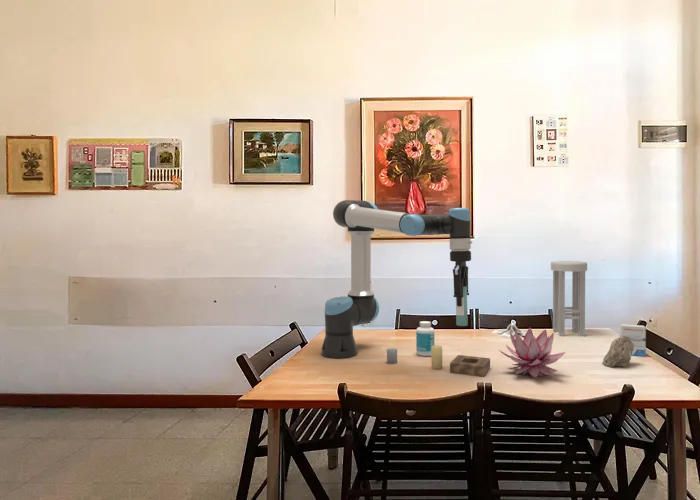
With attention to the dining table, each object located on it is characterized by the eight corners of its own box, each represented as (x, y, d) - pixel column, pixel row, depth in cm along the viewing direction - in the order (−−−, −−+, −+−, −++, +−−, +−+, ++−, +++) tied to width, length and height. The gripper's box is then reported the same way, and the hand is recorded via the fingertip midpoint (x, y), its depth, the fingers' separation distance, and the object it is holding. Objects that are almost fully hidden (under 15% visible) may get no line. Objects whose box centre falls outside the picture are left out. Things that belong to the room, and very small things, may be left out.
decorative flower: (559, 387, 153) (559, 341, 152) (493, 377, 164) (492, 334, 164) (568, 369, 171) (568, 328, 170) (508, 362, 182) (508, 323, 182)
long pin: (455, 325, 172) (454, 287, 171) (458, 323, 175) (457, 286, 175) (466, 326, 170) (465, 287, 170) (468, 324, 174) (467, 286, 173)
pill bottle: (434, 357, 191) (434, 324, 190) (415, 356, 192) (415, 323, 192) (434, 352, 198) (434, 320, 198) (417, 351, 200) (416, 320, 199)
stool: (547, 330, 238) (547, 261, 236) (579, 330, 236) (580, 260, 234) (556, 336, 222) (556, 263, 221) (591, 337, 220) (591, 263, 219)
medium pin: (430, 368, 175) (430, 347, 175) (433, 365, 179) (433, 344, 179) (440, 369, 174) (440, 348, 173) (443, 366, 177) (443, 345, 177)
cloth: (543, 338, 222) (543, 325, 222) (508, 341, 218) (508, 328, 218) (516, 329, 244) (516, 317, 243) (483, 331, 240) (483, 319, 239)
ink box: (643, 353, 191) (644, 325, 191) (645, 356, 187) (646, 327, 186) (619, 351, 195) (620, 323, 194) (621, 354, 190) (621, 325, 190)
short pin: (385, 363, 183) (385, 350, 183) (389, 360, 187) (389, 348, 187) (395, 364, 182) (394, 351, 181) (398, 361, 185) (398, 349, 185)
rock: (627, 354, 167) (604, 343, 173) (619, 377, 172) (597, 366, 177) (642, 340, 175) (620, 330, 181) (634, 362, 180) (612, 352, 185)
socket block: (450, 372, 170) (449, 362, 170) (458, 363, 181) (458, 354, 181) (483, 376, 165) (483, 366, 164) (490, 367, 175) (490, 358, 175)
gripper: (464, 251, 163) (466, 318, 163) (475, 249, 178) (477, 310, 178) (443, 251, 166) (445, 317, 167) (456, 249, 181) (457, 310, 182)
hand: (461, 313), depth 173 cm, fingers closed on long pin, 4 cm apart
